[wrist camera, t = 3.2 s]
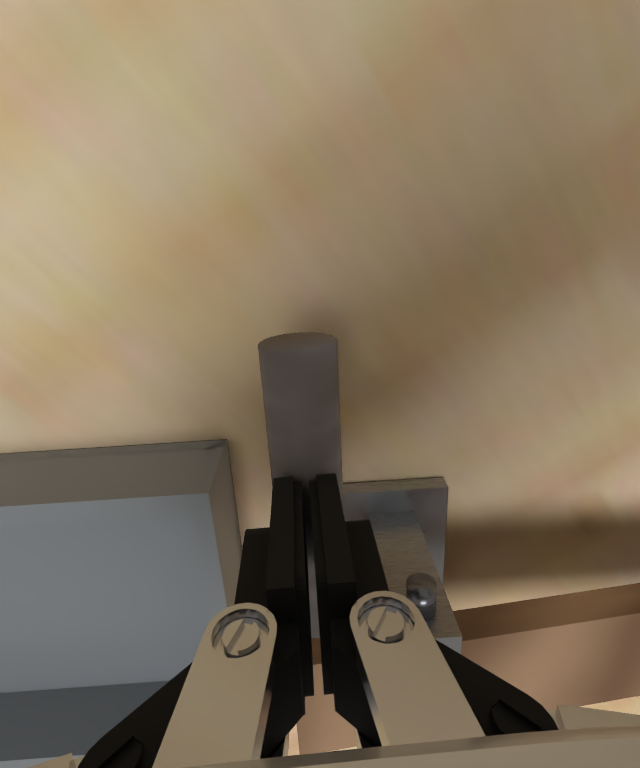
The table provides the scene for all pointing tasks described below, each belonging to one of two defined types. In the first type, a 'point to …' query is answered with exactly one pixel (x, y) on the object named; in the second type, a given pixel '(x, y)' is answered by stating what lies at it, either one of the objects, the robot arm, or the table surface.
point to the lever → (477, 625)
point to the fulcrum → (410, 543)
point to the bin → (106, 584)
